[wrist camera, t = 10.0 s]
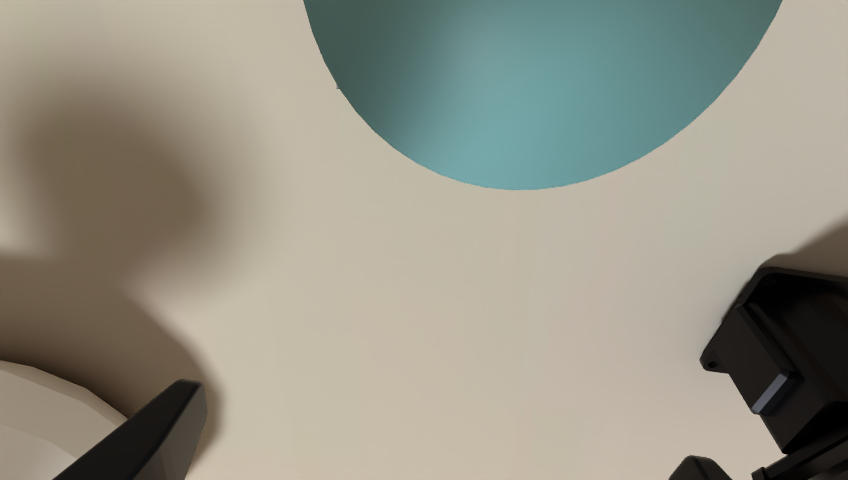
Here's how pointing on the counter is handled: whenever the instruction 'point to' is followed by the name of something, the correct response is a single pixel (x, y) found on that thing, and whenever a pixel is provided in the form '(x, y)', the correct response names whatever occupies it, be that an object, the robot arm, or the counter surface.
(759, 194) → the counter surface
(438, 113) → the teal cylinder
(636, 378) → the counter surface
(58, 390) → the white vase
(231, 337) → the counter surface
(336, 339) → the counter surface
